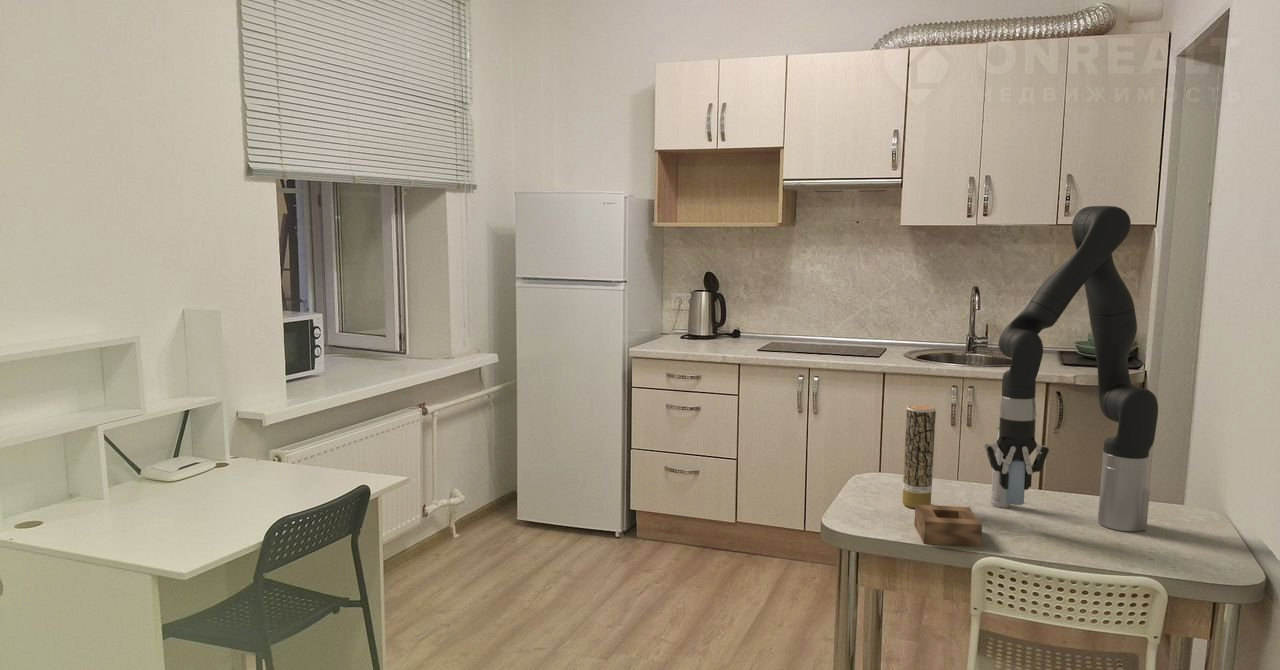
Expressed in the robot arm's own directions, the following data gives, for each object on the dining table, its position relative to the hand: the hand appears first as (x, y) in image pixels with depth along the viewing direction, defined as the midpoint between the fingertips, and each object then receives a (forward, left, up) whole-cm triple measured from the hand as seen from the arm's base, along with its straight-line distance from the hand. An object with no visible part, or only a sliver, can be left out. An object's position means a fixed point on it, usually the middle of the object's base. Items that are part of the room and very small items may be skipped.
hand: (1014, 488), depth 198 cm
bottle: (-2, -17, -10) cm, 19 cm away
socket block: (+16, +8, -9) cm, 21 cm away
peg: (0, 0, -3) cm, 3 cm away
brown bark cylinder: (+19, -13, -10) cm, 25 cm away
